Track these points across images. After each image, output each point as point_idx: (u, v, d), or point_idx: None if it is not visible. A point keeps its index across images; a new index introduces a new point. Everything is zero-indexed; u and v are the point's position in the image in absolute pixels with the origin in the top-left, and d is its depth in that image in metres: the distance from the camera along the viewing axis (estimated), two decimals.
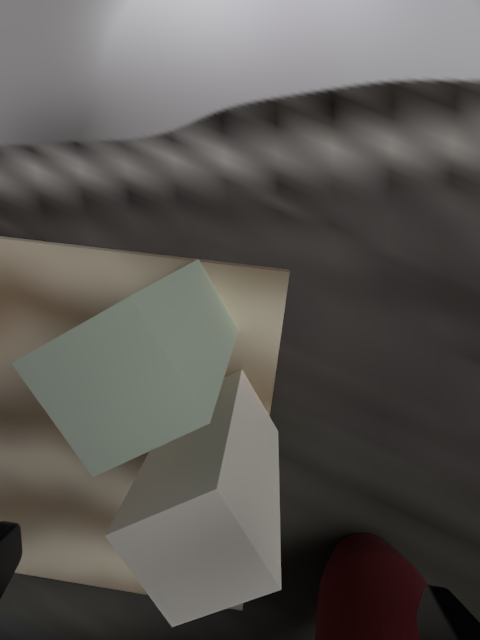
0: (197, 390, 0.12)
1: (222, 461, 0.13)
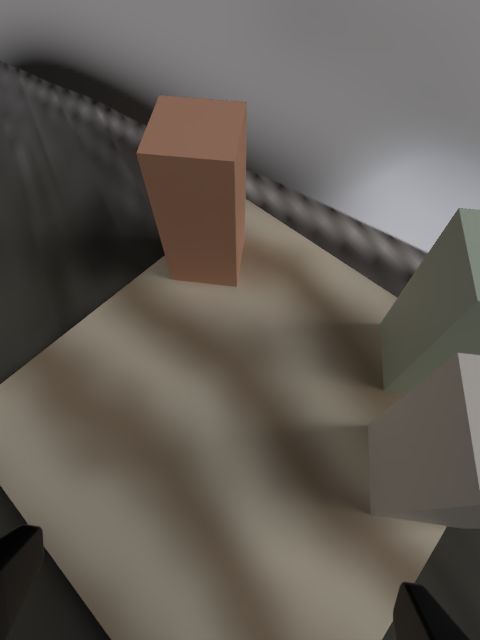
0: None
1: None
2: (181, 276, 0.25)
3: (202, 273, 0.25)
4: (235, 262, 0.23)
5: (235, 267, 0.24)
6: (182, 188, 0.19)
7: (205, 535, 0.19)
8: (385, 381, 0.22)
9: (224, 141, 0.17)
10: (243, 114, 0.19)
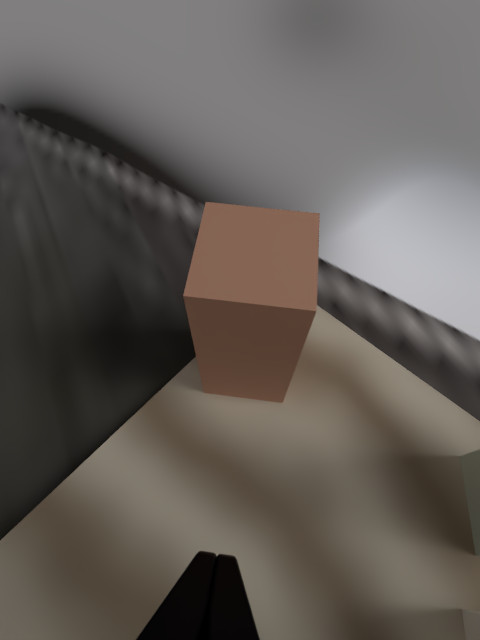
0: None
1: None
2: (216, 391, 0.21)
3: (243, 391, 0.20)
4: (287, 386, 0.19)
5: (286, 389, 0.19)
6: (237, 327, 0.14)
7: None
8: (477, 543, 0.18)
9: (298, 277, 0.13)
10: (317, 233, 0.14)
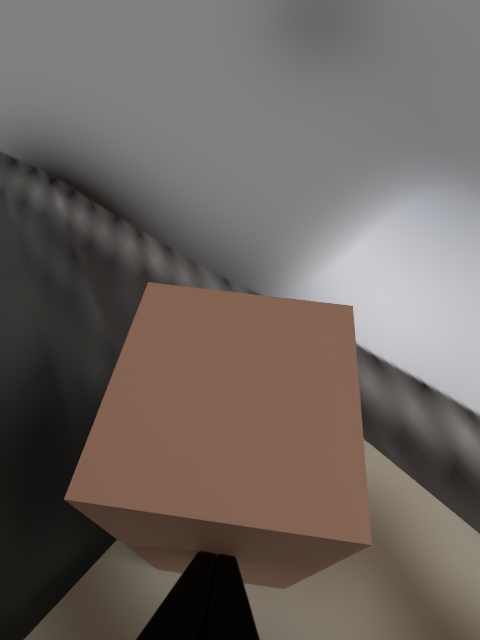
0: None
1: None
2: (177, 571, 0.13)
3: None
4: (293, 582, 0.11)
5: (290, 584, 0.11)
6: (196, 538, 0.07)
7: None
8: None
9: (324, 449, 0.06)
10: (353, 344, 0.08)
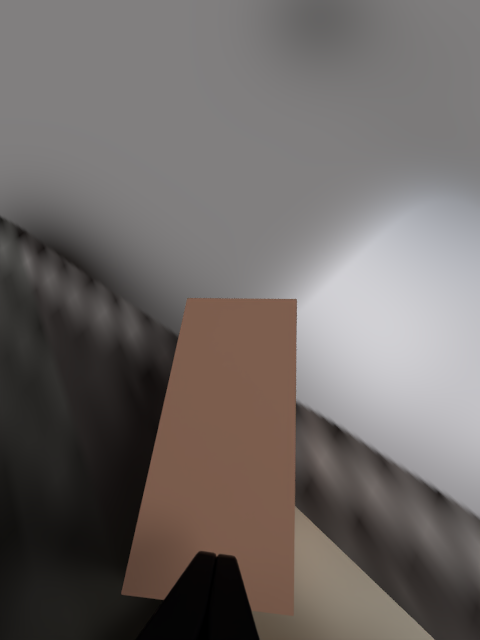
0: None
1: None
2: (152, 573, 0.10)
3: None
4: (292, 500, 0.11)
5: (292, 518, 0.11)
6: (226, 335, 0.14)
7: None
8: None
9: None
10: None
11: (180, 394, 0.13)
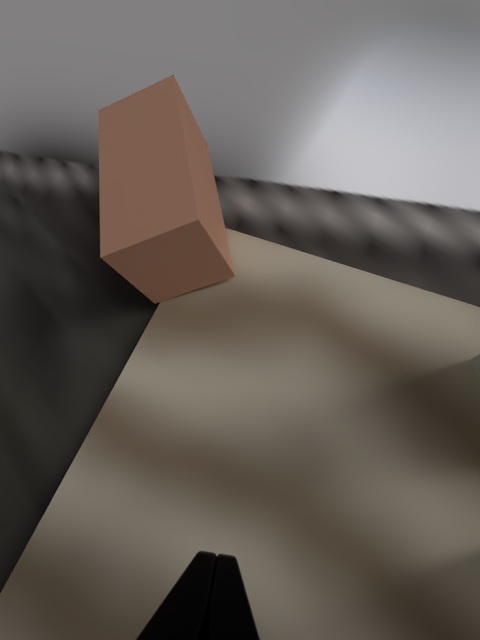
0: None
1: None
2: (115, 241, 0.16)
3: (145, 218, 0.16)
4: (189, 174, 0.16)
5: (190, 182, 0.16)
6: (130, 117, 0.19)
7: None
8: None
9: None
10: (200, 131, 0.22)
11: (108, 160, 0.18)
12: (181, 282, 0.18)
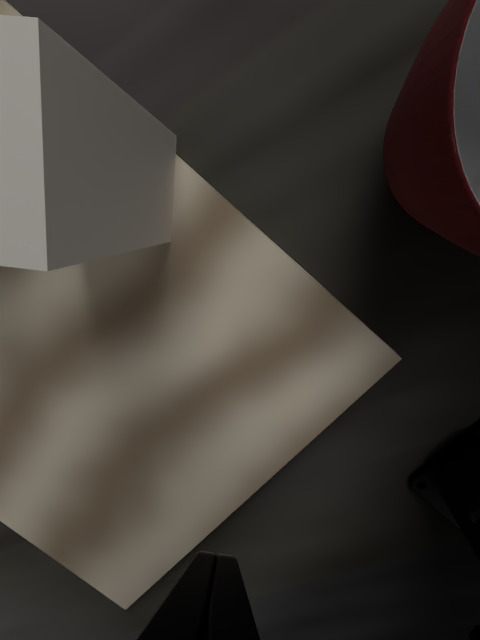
0: None
1: None
2: None
3: None
4: None
5: None
6: None
7: (199, 403, 0.20)
8: None
9: None
10: None
11: None
12: None
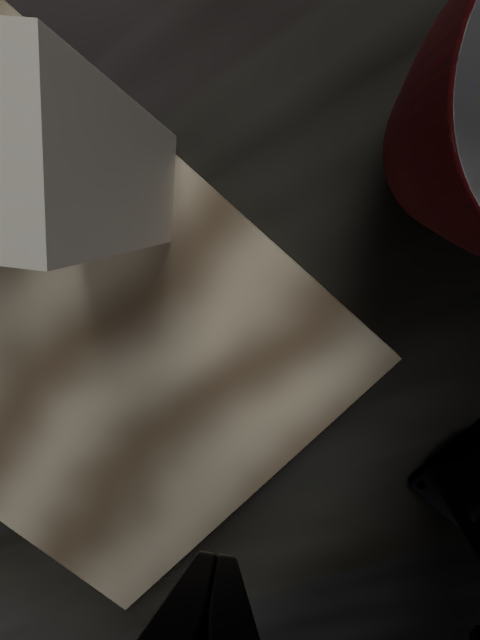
0: None
1: None
2: None
3: None
4: None
5: None
6: None
7: (199, 403, 0.20)
8: None
9: None
10: None
11: None
12: None
